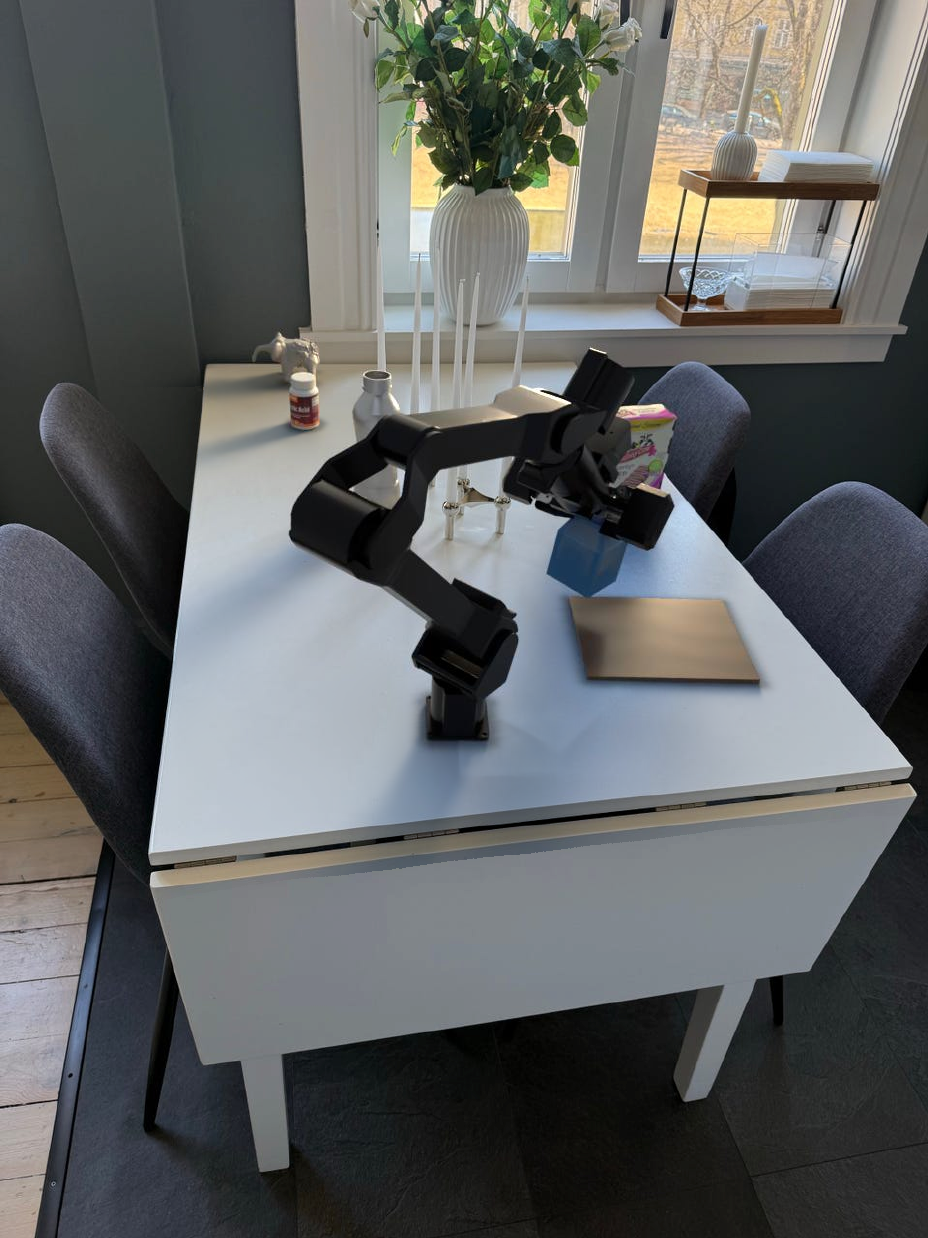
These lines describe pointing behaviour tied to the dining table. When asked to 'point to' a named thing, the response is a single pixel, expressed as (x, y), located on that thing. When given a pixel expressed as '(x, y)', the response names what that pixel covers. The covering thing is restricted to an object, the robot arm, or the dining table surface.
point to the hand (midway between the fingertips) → (602, 522)
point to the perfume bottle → (585, 556)
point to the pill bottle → (304, 401)
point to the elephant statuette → (291, 354)
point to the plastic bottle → (365, 417)
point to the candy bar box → (646, 445)
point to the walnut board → (659, 640)
